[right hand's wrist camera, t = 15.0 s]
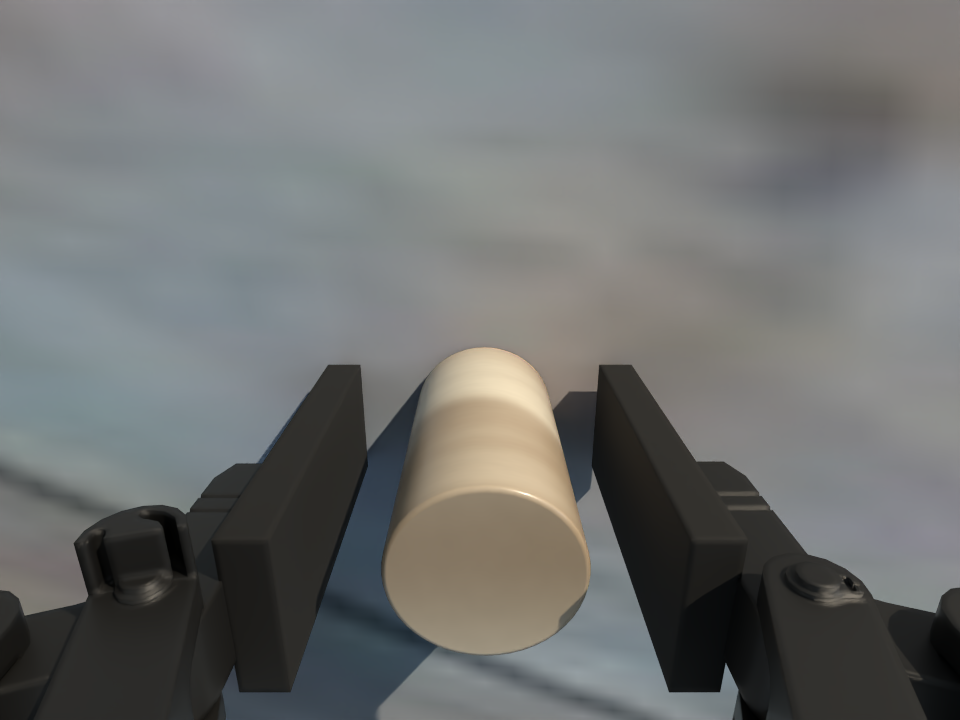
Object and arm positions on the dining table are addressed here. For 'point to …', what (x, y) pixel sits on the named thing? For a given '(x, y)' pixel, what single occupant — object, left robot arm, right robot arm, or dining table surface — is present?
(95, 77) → the dining table surface
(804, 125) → the dining table surface
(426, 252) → the dining table surface
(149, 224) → the dining table surface
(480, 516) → the cream peg
